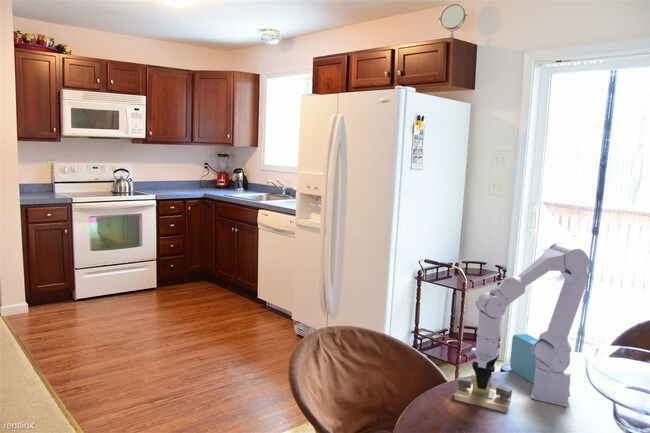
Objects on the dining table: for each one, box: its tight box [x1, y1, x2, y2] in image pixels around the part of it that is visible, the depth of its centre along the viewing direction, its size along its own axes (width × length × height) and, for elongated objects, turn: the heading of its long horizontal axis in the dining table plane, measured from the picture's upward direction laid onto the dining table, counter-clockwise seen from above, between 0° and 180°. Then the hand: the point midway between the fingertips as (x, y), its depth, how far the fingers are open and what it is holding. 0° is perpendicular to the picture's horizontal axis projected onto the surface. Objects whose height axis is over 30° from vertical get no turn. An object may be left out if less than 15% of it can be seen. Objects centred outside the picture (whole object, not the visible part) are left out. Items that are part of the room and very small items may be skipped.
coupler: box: [472, 373, 492, 396], centre depth 143 cm, size 5×3×5 cm, turn 64°
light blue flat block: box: [509, 333, 538, 385], centre depth 158 cm, size 12×4×12 cm, turn 18°
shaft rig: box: [453, 376, 513, 413], centre depth 143 cm, size 15×9×4 cm, turn 64°
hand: (483, 383), depth 142 cm, fingers open, 7 cm apart
